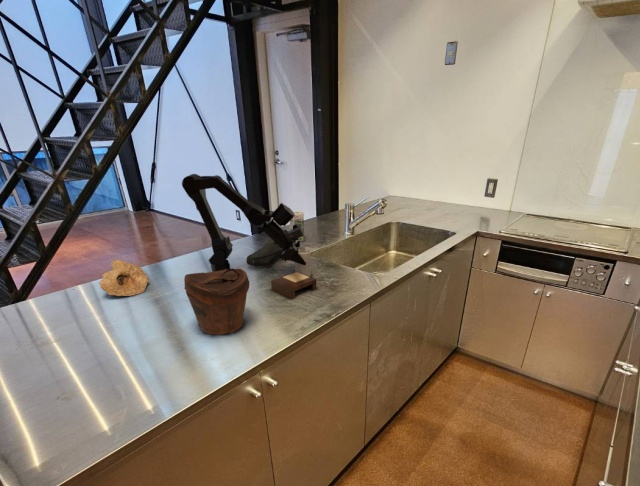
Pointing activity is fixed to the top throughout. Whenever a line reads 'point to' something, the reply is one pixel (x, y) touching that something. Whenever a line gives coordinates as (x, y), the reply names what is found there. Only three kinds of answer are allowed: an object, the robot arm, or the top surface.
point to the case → (218, 299)
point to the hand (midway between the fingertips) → (306, 261)
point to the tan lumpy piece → (124, 279)
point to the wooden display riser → (292, 284)
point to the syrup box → (298, 222)
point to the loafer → (265, 255)
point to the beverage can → (307, 258)
